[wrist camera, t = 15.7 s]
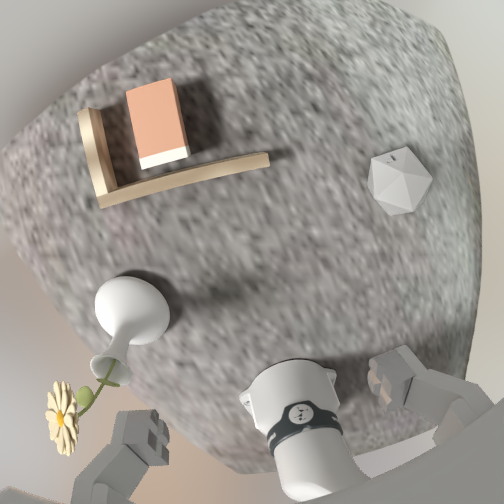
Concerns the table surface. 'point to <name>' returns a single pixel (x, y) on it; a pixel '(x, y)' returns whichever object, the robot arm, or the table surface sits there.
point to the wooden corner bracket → (113, 194)
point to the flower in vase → (109, 350)
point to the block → (157, 123)
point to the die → (398, 181)
